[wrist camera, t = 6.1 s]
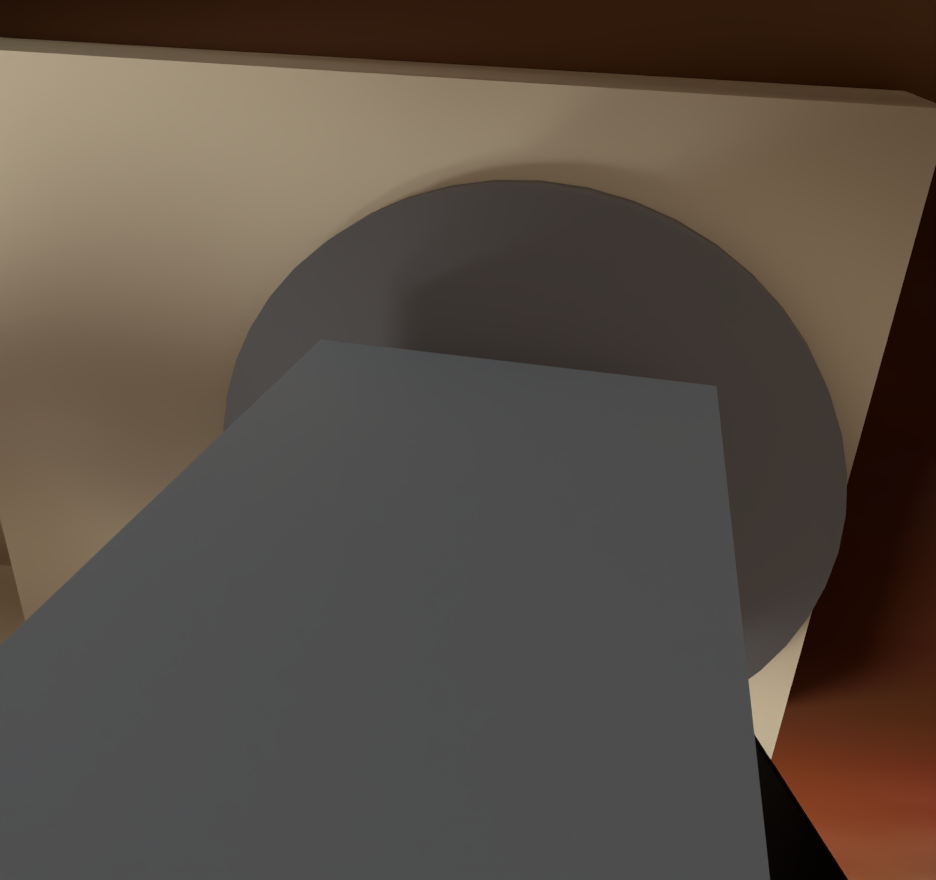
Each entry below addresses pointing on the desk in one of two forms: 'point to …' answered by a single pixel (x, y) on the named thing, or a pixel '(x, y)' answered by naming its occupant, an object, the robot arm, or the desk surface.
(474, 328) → the coaster
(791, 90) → the board
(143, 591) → the block
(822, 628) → the desk surface
